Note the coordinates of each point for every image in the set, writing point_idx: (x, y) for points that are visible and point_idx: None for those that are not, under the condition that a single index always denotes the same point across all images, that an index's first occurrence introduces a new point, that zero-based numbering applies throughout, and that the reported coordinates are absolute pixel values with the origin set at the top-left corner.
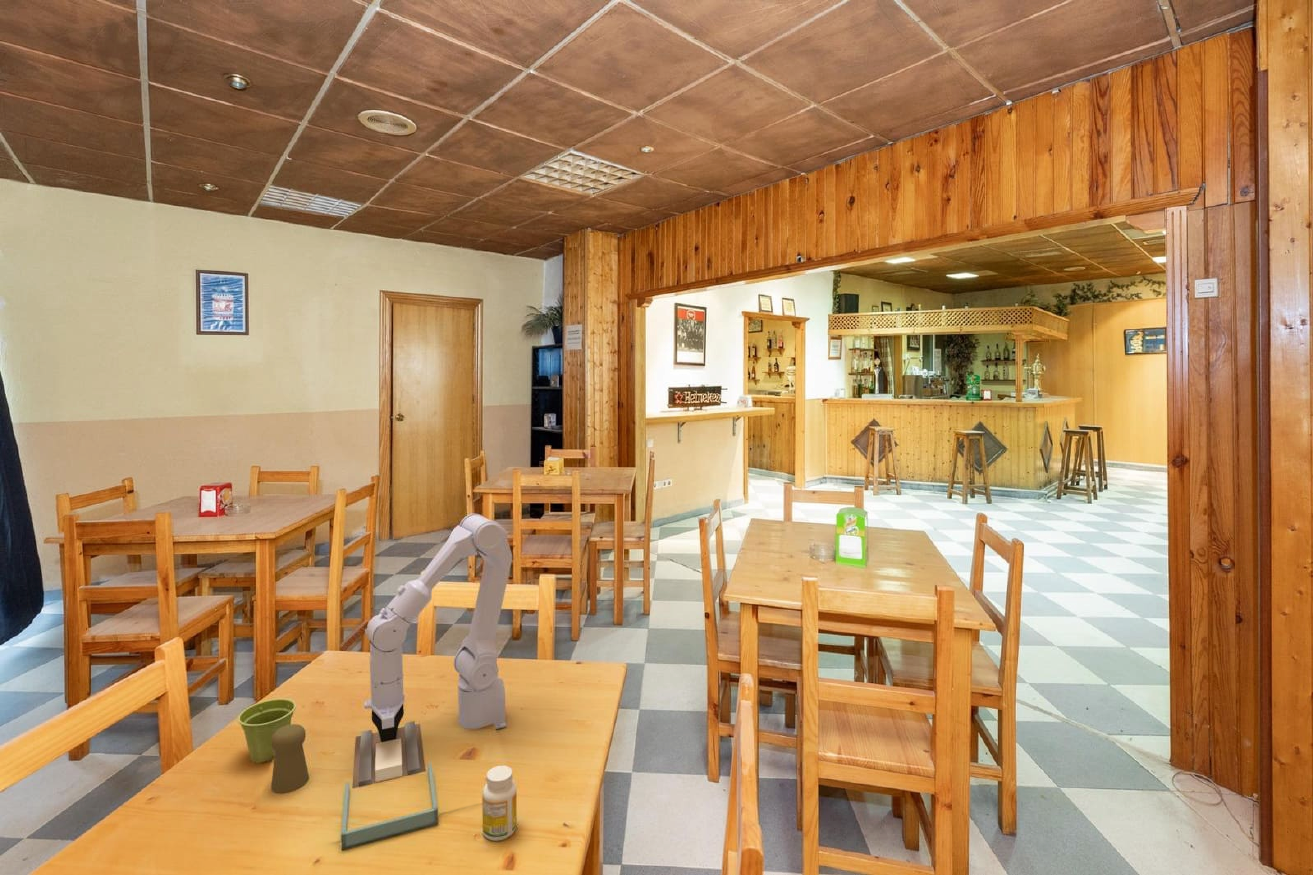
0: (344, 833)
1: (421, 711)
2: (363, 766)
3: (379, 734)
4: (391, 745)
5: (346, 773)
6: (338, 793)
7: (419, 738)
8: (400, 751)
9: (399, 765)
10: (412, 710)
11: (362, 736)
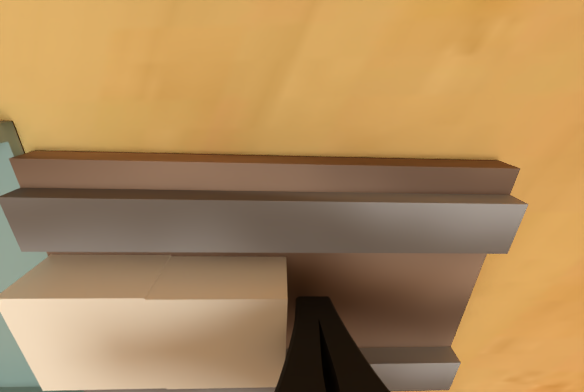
0: None
1: (537, 372)
2: (151, 219)
3: (285, 367)
4: (233, 358)
5: (223, 120)
6: (47, 83)
7: None
8: (163, 385)
9: (41, 380)
10: (570, 351)
11: (470, 212)
